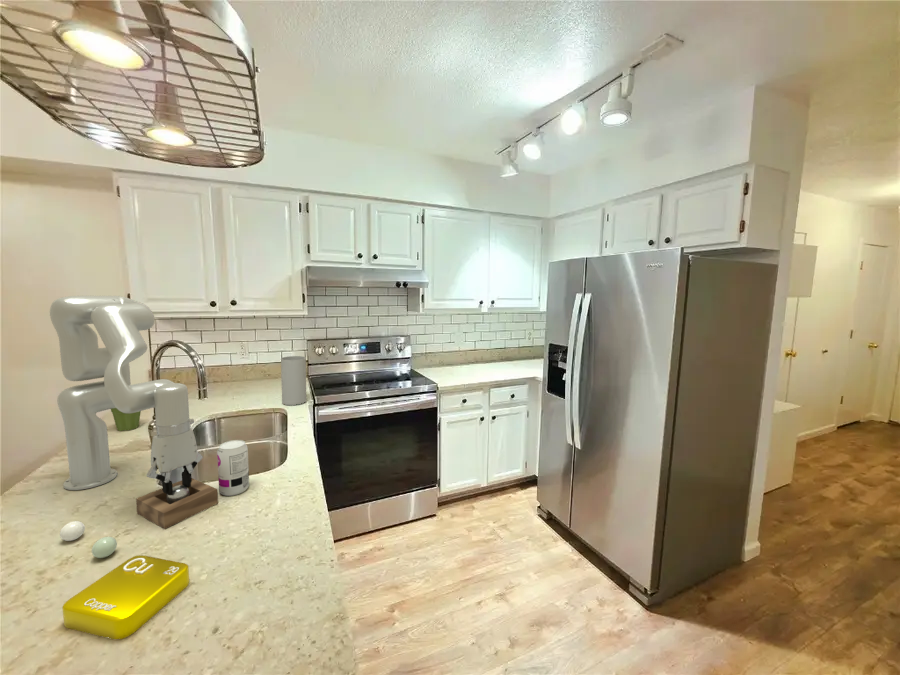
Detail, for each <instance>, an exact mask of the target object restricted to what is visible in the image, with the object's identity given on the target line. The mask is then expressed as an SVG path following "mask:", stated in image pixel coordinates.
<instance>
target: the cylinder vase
mask: <svg viewBox="0 0 900 675" xmlns="http://www.w3.org/2000/svg"><path fill="white" fill-rule="evenodd" d="M306 360H307V358H306V356H302V355H292V356H291V355H290V356H289V355H288V356H283V357H280V369H281V370H280V371H281V372H280V374H281V375H280V376H281V379H280V380H281V402H282V403H281V404H283V405H284V404H285V406H290V405H293V406H297V405H296V404H300V405H302V404H301V403H303V404H305V403H306V402H307V363H306V362H307V361H306ZM304 402H305V403H304Z"/></svg>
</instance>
